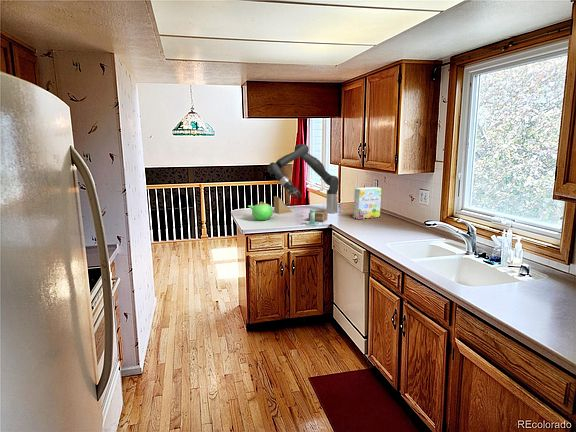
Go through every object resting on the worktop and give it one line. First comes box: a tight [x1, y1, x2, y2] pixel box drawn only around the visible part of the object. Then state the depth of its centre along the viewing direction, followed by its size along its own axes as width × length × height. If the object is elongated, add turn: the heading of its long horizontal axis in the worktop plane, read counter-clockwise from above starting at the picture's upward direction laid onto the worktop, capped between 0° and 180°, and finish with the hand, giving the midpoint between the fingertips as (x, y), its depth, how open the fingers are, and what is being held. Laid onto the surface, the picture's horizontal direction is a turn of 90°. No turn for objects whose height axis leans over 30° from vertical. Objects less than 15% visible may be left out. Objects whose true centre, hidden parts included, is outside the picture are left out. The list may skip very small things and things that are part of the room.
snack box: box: [352, 186, 383, 220], centre depth 331 cm, size 22×9×26 cm, turn 112°
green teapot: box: [247, 201, 274, 221], centre depth 327 cm, size 18×17×15 cm
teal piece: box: [305, 209, 320, 227], centre depth 309 cm, size 8×8×12 cm
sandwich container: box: [273, 195, 293, 215], centre depth 358 cm, size 9×15×15 cm, turn 123°
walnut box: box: [308, 209, 329, 223], centre depth 325 cm, size 12×12×7 cm
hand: (299, 197), depth 316 cm, fingers open, 8 cm apart
